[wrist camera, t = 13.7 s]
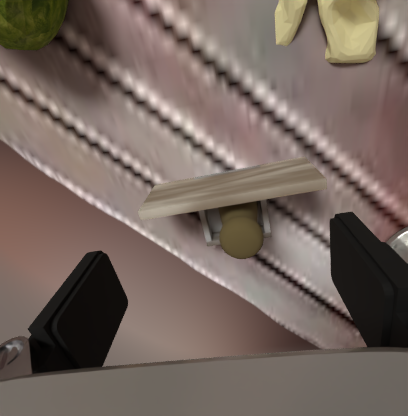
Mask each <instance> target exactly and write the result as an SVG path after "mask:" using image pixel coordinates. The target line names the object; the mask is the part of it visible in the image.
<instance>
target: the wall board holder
mask: <svg viewBox="0 0 408 416" xmlns="http://www.w3.org/2000/svg"><path fill="white" fill-rule="evenodd" d="M324 189H327V179H326V178H325V177H324V176H323V175H322V174H321V173H320V172H319V171H318V170H317V169H316V168H315V167H314V166H313V165H312V164H311V163H310V162H309V161H308V160H307V159H306V158H305V157H300V158H295V159H290V160H284V161H279V162H274V163H269V164H263V165H258V166H253V167H248V168H242V169H237V170H232V171H227V172H221V173H216V174H211V175H206V176H200V177H195V178H190V179H185V180H179V181H174V182H169V183H164V184H158V185H155V186H154V188H153V189H152V191H151V192H150V194H149V195H148V197H147V199H146V200H145V202H144V203H143V205H142V206H141V208H140V210H139V211H138V214H139V216H140V219H141V220H147V219H153V218H159V217H165V216H171V215H177V214H182V213H188V212H194V211H198V212H199V215H200V219H201V223H202V227H203V231H204V235H205V239H206V242H207V246H213V245H220V241H219V235H220V230H221V228H222V222H221V218H220V214H219V210H218V207H224V206H230V205H235V204H241V203H247V202H253V201H258V214H257V223H258V224H259V225H260V227H261V229H262V232H263V235H264V238H267V237H271V231H270V224H269V216H268V209H267V201H266V199H271V198H277V197H283V196H288V195H294V194H300V193H306V192H312V191H318V190H324Z"/></svg>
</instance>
